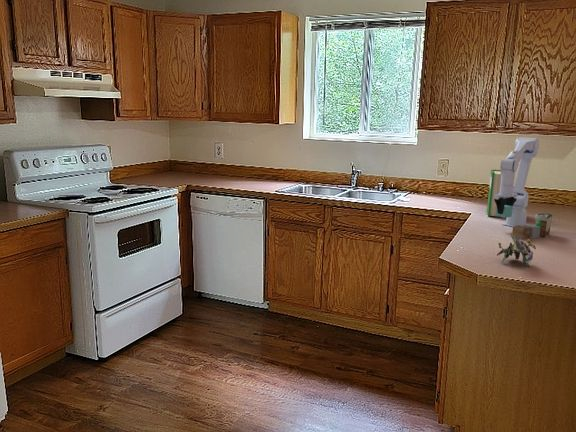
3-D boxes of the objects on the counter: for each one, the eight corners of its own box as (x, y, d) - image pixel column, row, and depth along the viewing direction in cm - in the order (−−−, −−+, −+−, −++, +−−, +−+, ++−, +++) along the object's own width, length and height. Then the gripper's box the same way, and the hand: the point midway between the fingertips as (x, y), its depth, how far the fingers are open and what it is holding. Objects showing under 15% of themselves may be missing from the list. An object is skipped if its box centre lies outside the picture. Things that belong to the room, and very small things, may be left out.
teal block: (502, 214, 246) (503, 204, 245) (511, 216, 242) (512, 206, 241) (495, 215, 243) (496, 205, 242) (504, 217, 239) (506, 207, 238)
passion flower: (525, 281, 188) (537, 259, 178) (490, 271, 191) (501, 249, 181) (528, 256, 196) (540, 233, 186) (495, 247, 199) (505, 224, 189)
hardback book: (502, 218, 275) (507, 173, 270) (487, 216, 277) (492, 172, 272) (500, 212, 291) (505, 170, 286) (486, 211, 293) (491, 169, 289)
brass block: (518, 236, 234) (519, 225, 233) (528, 238, 230) (529, 227, 229) (511, 237, 231) (512, 226, 230) (521, 239, 227) (523, 228, 226)
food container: (535, 231, 243) (538, 211, 241) (549, 234, 240) (552, 212, 238) (529, 236, 234) (532, 214, 232) (544, 238, 230) (547, 216, 228)
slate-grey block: (529, 235, 237) (531, 224, 236) (539, 237, 232) (540, 226, 231) (522, 236, 234) (523, 225, 233) (532, 238, 230) (533, 227, 229)
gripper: (504, 186, 233) (501, 216, 235) (524, 185, 240) (520, 213, 243) (491, 184, 238) (488, 213, 241) (510, 183, 246) (507, 210, 249)
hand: (503, 213), depth 242 cm, fingers closed on teal block, 5 cm apart
